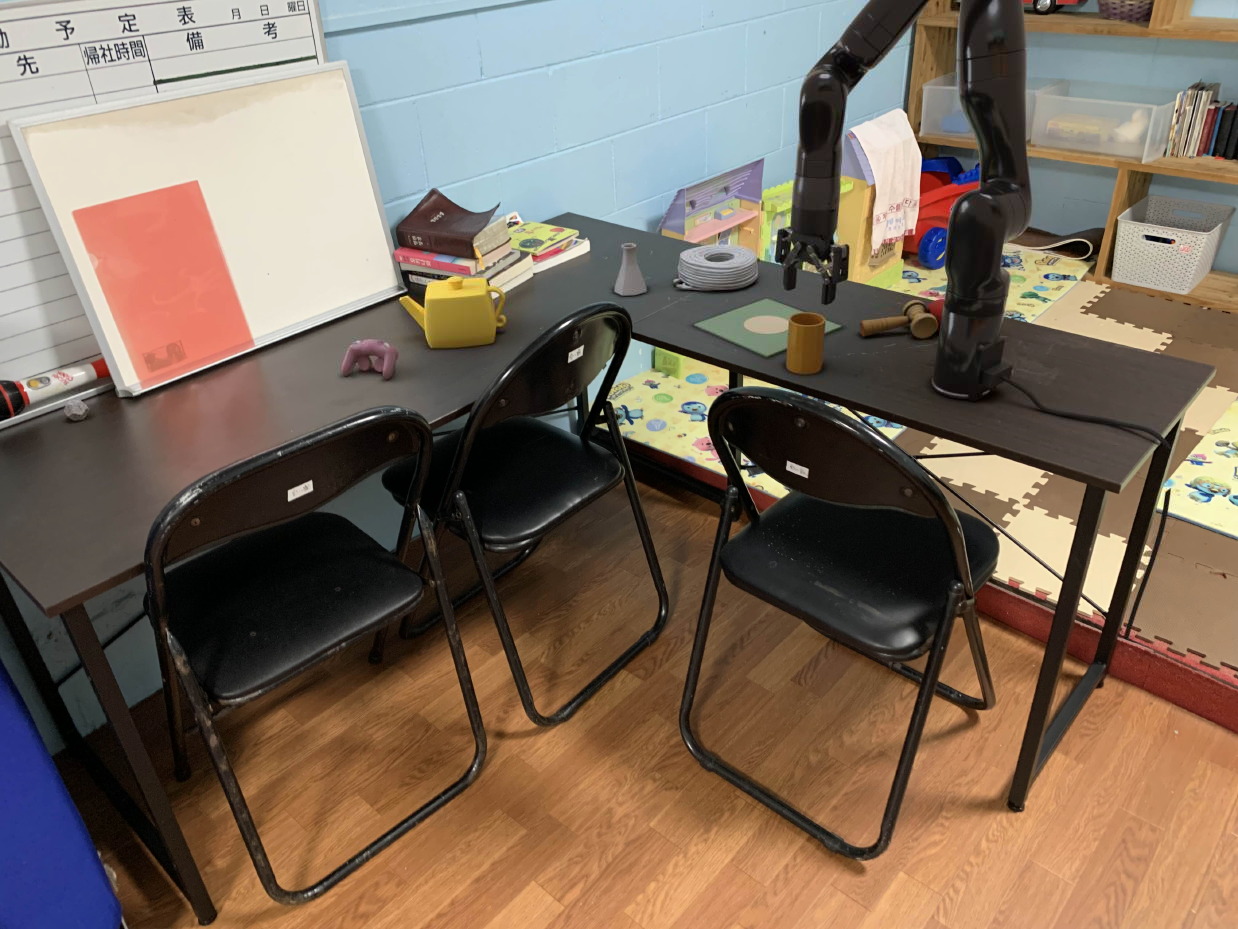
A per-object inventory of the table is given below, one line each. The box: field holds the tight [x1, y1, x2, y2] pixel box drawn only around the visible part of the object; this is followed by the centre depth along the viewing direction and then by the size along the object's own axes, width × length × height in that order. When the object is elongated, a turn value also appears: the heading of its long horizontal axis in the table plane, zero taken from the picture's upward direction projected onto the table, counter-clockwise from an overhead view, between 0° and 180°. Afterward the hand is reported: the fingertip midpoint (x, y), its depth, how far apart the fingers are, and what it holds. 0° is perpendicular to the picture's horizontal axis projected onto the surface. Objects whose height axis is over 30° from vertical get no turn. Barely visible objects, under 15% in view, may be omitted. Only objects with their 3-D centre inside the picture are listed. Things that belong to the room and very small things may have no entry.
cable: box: [672, 244, 759, 292], centre depth 201 cm, size 18×18×6 cm
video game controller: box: [341, 338, 399, 380], centre depth 168 cm, size 10×5×7 cm, turn 74°
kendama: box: [859, 298, 945, 339], centre depth 173 cm, size 8×6×18 cm
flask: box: [614, 242, 648, 296], centre depth 197 cm, size 7×7×10 cm
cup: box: [785, 311, 827, 375], centre depth 161 cm, size 6×6×9 cm
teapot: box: [398, 275, 507, 349], centre depth 179 cm, size 20×12×12 cm, turn 96°
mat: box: [693, 298, 843, 358], centre depth 179 cm, size 20×20×1 cm
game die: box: [63, 398, 90, 422], centre depth 158 cm, size 4×4×3 cm
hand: (808, 296), depth 157 cm, fingers open, 8 cm apart
